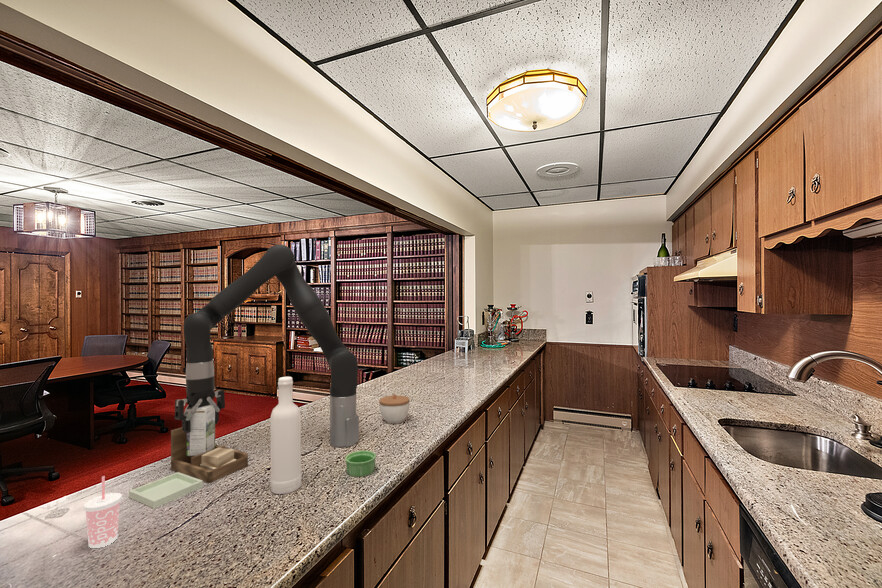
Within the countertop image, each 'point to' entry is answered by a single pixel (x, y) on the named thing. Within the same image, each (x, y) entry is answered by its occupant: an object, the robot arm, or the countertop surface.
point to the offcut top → (217, 457)
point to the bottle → (285, 441)
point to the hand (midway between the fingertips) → (201, 427)
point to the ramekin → (360, 463)
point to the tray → (165, 489)
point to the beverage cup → (102, 518)
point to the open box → (200, 460)
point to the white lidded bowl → (394, 408)
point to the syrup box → (201, 431)
